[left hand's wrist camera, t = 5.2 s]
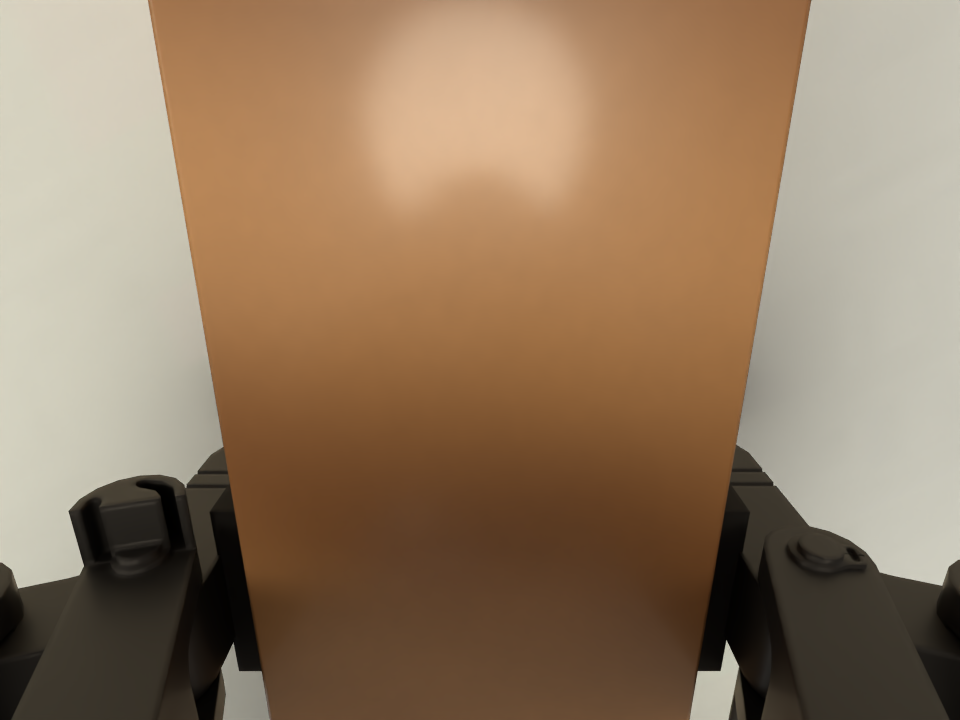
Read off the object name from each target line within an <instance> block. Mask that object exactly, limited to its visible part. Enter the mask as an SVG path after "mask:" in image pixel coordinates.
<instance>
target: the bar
mask: <svg viewBox="0 0 960 720" xmlns="http://www.w3.org/2000/svg"><path fill="white" fill-rule="evenodd" d="M148 3H149V9H150V15H151V21H152V27H153V33H154V38H155V44H156V50H157V56H158V62H159V68H160V74H161V80H162V86H163V92H164V97H165V103H166V109H167V115H168V121H169V127H170V133H171V139H172V145H173V151H174V156H175V162H176V168H177V174H178V180H179V186H180V192H181V198H182V204H183V210H184V215H185V221H186V227H187V233H188V239H189V245H190V251H191V257H192V263H193V268H194V274H195V280H196V286H197V292H198V298H199V304H200V310H201V316H202V322H203V327H204V333H205V339H206V345H207V351H208V357H209V363H210V369H211V375H212V381H213V386H214V392H215V398H216V404H217V410H218V416H219V422H220V428H221V434H222V440H223V445H224V451H225V457H226V463H227V469H228V475H229V481H230V487H231V493H232V499H233V504H234V510H235V516H236V522H237V528H238V534H239V540H240V546H241V552H242V558H243V563H244V569H245V575H246V581H247V587H248V593H249V599H250V605H251V611H252V617H253V622H254V628H255V634H256V640H257V646H258V652H259V658H260V664H261V670H262V676H263V681H264V687H265V693H266V699H267V705H268V711H269V717H270V720H689V719H690V713H691V707H692V701H693V695H694V689H695V683H696V678H697V672H698V666H699V660H700V654H701V648H702V642H703V636H704V630H705V624H706V618H707V613H708V607H709V601H710V595H711V589H712V583H713V577H714V571H715V565H716V559H717V554H718V548H719V542H720V536H721V530H722V524H723V518H724V512H725V506H726V500H727V494H728V489H729V483H730V477H731V471H732V465H733V459H734V453H735V447H736V441H737V435H738V429H739V424H740V418H741V412H742V406H743V400H744V394H745V388H746V382H747V376H748V370H749V364H750V359H751V353H752V347H753V341H754V335H755V329H756V323H757V317H758V311H759V305H760V299H761V294H762V288H763V282H764V276H765V270H766V264H767V258H768V252H769V246H770V240H771V235H772V229H773V223H774V217H775V211H776V205H777V199H778V193H779V187H780V181H781V175H782V170H783V164H784V158H785V152H786V146H787V140H788V134H789V128H790V122H791V116H792V110H793V105H794V99H795V93H796V87H797V81H798V75H799V69H800V63H801V57H802V51H803V45H804V40H805V34H806V28H807V22H808V16H809V10H810V4H811V0H148Z"/></svg>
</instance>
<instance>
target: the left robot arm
mask: <svg viewBox="0 0 960 720" xmlns="http://www.w3.org/2000/svg"><path fill="white" fill-rule="evenodd" d="M69 514H70V518H71V521H72V525H73V528H74V532H75V536H76V539H77V543H78V546H79V550H80V553H81V557H82V560H83V564H84V567H83V570H82V572H81V574H80V575H79V576H76V577H72V578H68V579H63V580H58V581H53V582H48V583H44V584H39V585H34V586H29V587H24V588H19V589H18V587H17V584H16V582H15V579H14V576H13V573H12V570H11V569H10V568H8V567H7V566H6V565H4V564H3V563H0V720H223V712H224V704H225V696H226V693H225V686H224V680H223V675H222V670H221V667H222V665H223V663H224V661H225V659H226V657H227V655H228V653H229V650H230V648H231V646H232V644H233V642H234V646H235V652H236V657H237V662H238V668H239V671H262V670H261V664H260V658H259V652H258V646H257V640H256V634H255V628H254V622H253V617H252V611H251V605H250V599H249V593H248V587H247V581H246V575H245V569H244V563H243V558H242V552H241V546H240V540H239V534H238V528H237V522H236V516H235V510H234V504H233V499H232V493H231V487H230V481H229V475H228V469H227V463H226V457H225V451H224V447H223V448H221V449H220V450H218V451H216V452H215V453H213V454H212V455H211V456H210V457H209V458H208V459H207V461H206V462H205V463H204V464H203V465H202V467H201V468H200V469H199V470H198V474H195V475H194V476H193V478H192V479H191V480H190V481H189V483H188V484H187V488H185V486H184V484H183V483H181V482H180V481H179V480H177V479H176V478H173V477H168V476H163V475H145V476H136V477H132V478H127V479H123V480H118V481H116V482H113V483H110V484H108V485H105V486H103V487H100V488H97V489H96V490H94V491H92V492H91V493H89V494H88V495H86V496H84V497H83V498H81V499H80V500H79V501H78V502H77V503H76V504H75V505H74V506H73V507H72V508H71V509H70V510H69ZM726 640H727V642H728V644H729V646H730V648H731V650H732V652H733V654H734V656H735V659H736V661H737V663H738V665H739V670H738V675H737V680H736V685H735V690H734V695H733V700H732V705H731V710H730V715H729V720H960V560H958V561H956V562H955V563H954V564H952V565H951V566H950V567H949V568H948V571H947V574H946V577H945V580H944V583H943V586H940V585H935V584H930V583H925V582H920V581H915V580H910V579H905V578H900V577H896V576H891V575H887V574H883V573H880V572H879V570H878V568H877V566H876V565H875V563H874V562H873V561H872V559H871V558H870V557H869V556H868V554H867V553H866V552H865V551H863V550H862V549H861V548H859V547H858V546H856V545H855V544H854V543H852V542H851V541H849V540H847V539H845V538H843V537H841V536H838V535H836V534H834V533H832V532H830V531H826V530H822V529H818V528H814V527H810V526H809V525H808V524H807V523H806V522H805V521H804V519H803V518H802V517H801V516H800V514H799V513H798V512H797V511H796V510H795V508H794V507H793V506H792V505H791V504H790V502H789V501H788V500H787V499H786V497H785V496H784V495H783V494H782V493H781V491H780V490H779V489H778V488H777V486H773V482H772V480H771V479H770V478H769V477H768V475H767V474H766V473H765V472H762V468H761V467H760V466H759V465H758V463H757V462H756V461H755V460H754V458H753V457H752V456H751V455H750V454H749V453H748V452H747V451H745V450H744V449H742V448H740V447H739V446H737V445H736V447H735V453H734V459H733V465H732V471H731V477H730V483H729V489H728V494H727V500H726V506H725V512H724V518H723V524H722V530H721V536H720V542H719V548H718V554H717V559H716V565H715V571H714V577H713V583H712V589H711V595H710V601H709V607H708V613H707V618H706V624H705V630H704V636H703V642H702V648H701V654H700V660H699V666H698V671H721V665H722V660H723V655H724V649H725V644H726Z"/></svg>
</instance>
